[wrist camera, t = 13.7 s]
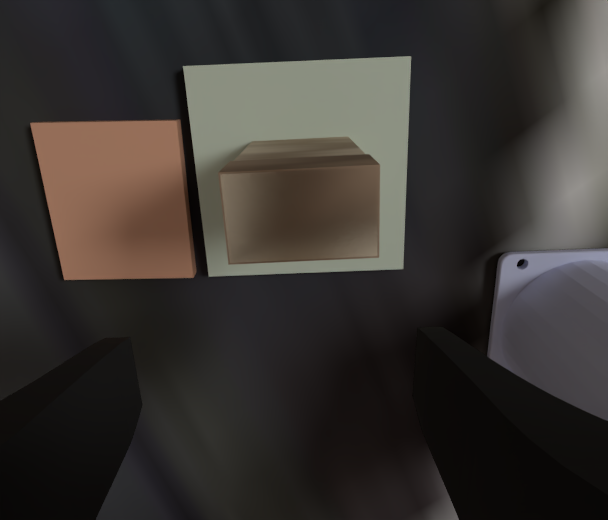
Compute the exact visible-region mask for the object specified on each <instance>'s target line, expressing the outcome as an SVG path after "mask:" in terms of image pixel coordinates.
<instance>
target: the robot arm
mask: <svg viewBox="0 0 608 520" xmlns="http://www.w3.org/2000/svg"><path fill="white" fill-rule="evenodd" d="M521 259H524V264H523V265H521V266H519V267H517V263H518V261H519V260H521ZM413 399H414V403H415V407H416V411H417V415H418V418H419V422H420V425H421V429H422V432H423V434H424V437H425V439H426V442H427V444H428V446H429V449H430V451H431V454H432V456H433V459H434V461H435V463H436V466H437V468H438V470H439V473H440V475H441V477H442V480H443V482H444V485H445V487H446V489H447V492H448V494H449V496H450V499H451V501H452V503H453V506H454V508H455V511H456V513H457V515H458V518H459V520H608V248H599V249H574V250H548V251H523V252H508V253H505V254H503V255H502V256H501V257H500V258H499V260H498V265H497V274H496V282H495V291H494V300H493V309H492V317H491V326H490V335H489V343H488V352H487V356H486V355H484V354H483V353H481V352H480V351H478V350H477V349H475V348H474V347H472V346H471V345H469V344H468V343H466V342H465V341H463V340H462V339H461V338H459V337H458V336H456V335H455V334H453V333H451V332H450V331H448V330H447V329H445V328H443V327H421V328H417V341H416V355H415V369H414V382H413ZM141 408H142V401H141V395H140V390H139V384H138V379H137V373H136V368H135V362H134V357H133V351H132V346H131V340H130V337H124V338H105V339H103V340H101V341H99V342H97V343H95V344H93V345H92V346H90V347H88V348H87V349H85V350H83V351H82V352H80V353H78V354H77V355H75V356H74V357H72V358H71V359H69V360H67V361H66V362H64V363H63V364H61V365H59V366H58V367H56V368H55V369H53V370H51V371H50V372H48V373H47V374H45V375H43V376H42V377H40V378H39V379H37V380H35V381H34V382H32V383H30V384H29V385H27V386H25V387H23V388H22V389H20V390H18V391H17V392H15V393H13V394H11V395H10V396H8V397H6V398H5V399H3V400H1V401H0V520H95V519H96V517H97V515H98V513H99V511H100V509H101V506H102V504H103V502H104V500H105V498H106V496H107V494H108V491H109V489H110V487H111V485H112V483H113V481H114V479H115V476H116V474H117V472H118V470H119V468H120V466H121V463H122V461H123V459H124V457H125V455H126V452H127V450H128V448H129V446H130V443H131V441H132V438H133V435H134V432H135V428H136V425H137V422H138V418H139V415H140V411H141Z"/></svg>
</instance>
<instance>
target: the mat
mask: <svg viewBox="0 0 608 520" xmlns="http://www.w3.org/2000/svg"><path fill="white" fill-rule="evenodd" d="M183 70H184V78H185V86H186V94H187V103H188V111H189V119H190V127H191V135H192V143H193V151H194V160H195V168H196V176H197V184H198V192H199V200H200V209H201V217H202V225H203V233H204V241H205V249H206V258H207V266H208V274H209V277H211V276H237V275H262V274H288V273H314V272H339V271H365V270H390V269H403V257H404V231H405V204H406V177H407V151H408V124H409V98H410V71H411V56H406V57H384V58H361V59H338V60H316V61H293V62H270V63H247V64H225V65H202V66H183ZM328 137H349V138H350V139H351V140H352V141H353V142H354V143H355V144H356V145H357V146H358V147H359V148H360V149H361V150H362V151H363V152H364V153H365V154H370V155H371V156H372V157H373V158H374V159H375V160H376V161H377V162H378V163H379V164H380V227H379V258H362V259H340V260H318V261H297V262H275V263H254V264H232V265H228V257H227V248H226V239H225V230H224V221H223V212H222V204H221V195H220V186H219V177H218V172H219V171H220V170H221V169H222V168H223V167H224V166H225V165H226V164H227V163H228V162H229V161H234V160H235V159H236V158H237V157H238V156H239V155H240V154H241V152H242V151H243V150H244V149H245V148H246V147H247V146H248V145H249V144H250V143H251V142H252V141H267V140H287V139H307V138H328Z"/></svg>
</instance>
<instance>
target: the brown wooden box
mask: <svg viewBox="0 0 608 520" xmlns="http://www.w3.org/2000/svg"><path fill="white" fill-rule="evenodd" d="M218 177H219V186H220V195H221V204H222V212H223V221H224V230H225V239H226V248H227V257H228V265H232V264H254V263H275V262H297V261H318V260H340V259H362V258H379V227H380V164H379V163H378V162H377V161H376V160H375V159H374V158H373V157H372V156H371V155H370V154H365V153H364V152H363V151H362V150H361V149H360V148H359V147H358V146H357V145H356V144H355V143H354V142H353V141H352V140H351V139H350V138H349V137H328V138H307V139H287V140H267V141H252V142H251V143H250V144H249V145H248V146H247V147H246V148H245V149H244V150H243V151H242V152H241V154H240V155H239V156H238V157H237V158H236V159H235V160H234V161H229V162H228V163H227V164H226V165H225V166H224V167H223V168H222V169H221V170H220V171H219V172H218Z"/></svg>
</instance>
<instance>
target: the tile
mask: <svg viewBox="0 0 608 520" xmlns="http://www.w3.org/2000/svg"><path fill="white" fill-rule="evenodd" d="M30 124H31V129H32V133H33V138H34V143H35V147H36V152H37V156H38V161H39V166H40V170H41V175H42V180H43V184H44V189H45V193H46V198H47V203H48V207H49V212H50V216H51V221H52V226H53V230H54V235H55V240H56V244H57V249H58V253H59V258H60V263H61V267H62V272H63V276H64V280H93V279H152V278H194V276H195V274H196V263H195V254H194V244H193V235H192V225H191V216H190V206H189V197H188V187H187V178H186V168H185V159H184V149H183V140H182V130H181V121H180V120H121V121H60V122H34V123H30Z"/></svg>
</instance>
